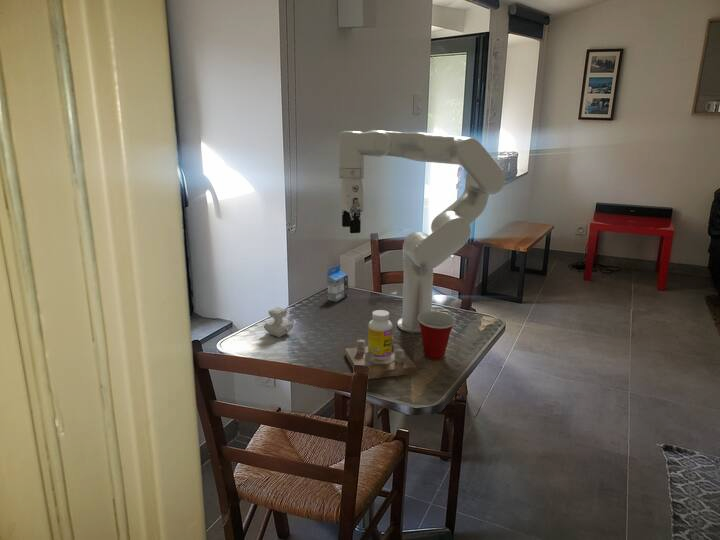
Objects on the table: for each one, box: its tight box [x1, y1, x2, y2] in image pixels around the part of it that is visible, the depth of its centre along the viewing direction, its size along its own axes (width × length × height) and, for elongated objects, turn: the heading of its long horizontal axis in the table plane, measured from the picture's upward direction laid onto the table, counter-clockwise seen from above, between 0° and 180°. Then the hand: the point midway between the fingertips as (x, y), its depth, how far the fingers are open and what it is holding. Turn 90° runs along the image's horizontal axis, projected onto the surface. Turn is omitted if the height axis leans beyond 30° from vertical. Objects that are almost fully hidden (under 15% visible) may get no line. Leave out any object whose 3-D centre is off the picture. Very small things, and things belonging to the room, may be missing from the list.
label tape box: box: [326, 263, 349, 303], centre depth 204 cm, size 9×4×12 cm, turn 149°
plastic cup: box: [417, 310, 456, 361], centre depth 155 cm, size 11×11×12 cm
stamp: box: [263, 306, 294, 338], centre depth 170 cm, size 9×7×8 cm
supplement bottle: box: [367, 309, 393, 360], centre depth 149 cm, size 7×7×13 cm
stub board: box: [344, 336, 418, 380], centre depth 150 cm, size 16×16×6 cm
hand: (351, 229), depth 165 cm, fingers open, 9 cm apart
